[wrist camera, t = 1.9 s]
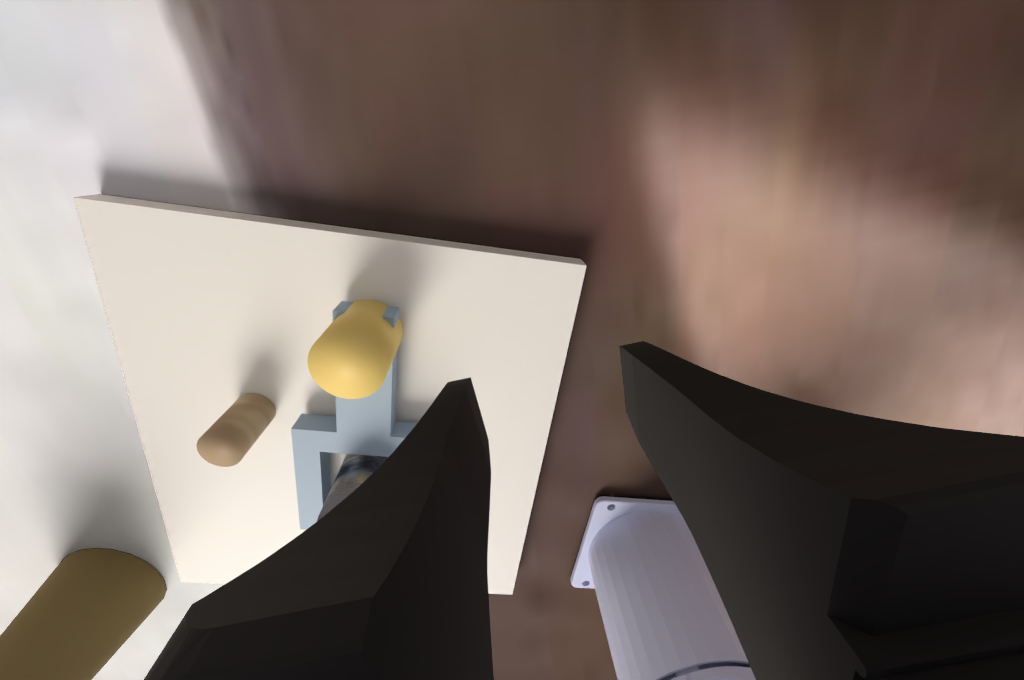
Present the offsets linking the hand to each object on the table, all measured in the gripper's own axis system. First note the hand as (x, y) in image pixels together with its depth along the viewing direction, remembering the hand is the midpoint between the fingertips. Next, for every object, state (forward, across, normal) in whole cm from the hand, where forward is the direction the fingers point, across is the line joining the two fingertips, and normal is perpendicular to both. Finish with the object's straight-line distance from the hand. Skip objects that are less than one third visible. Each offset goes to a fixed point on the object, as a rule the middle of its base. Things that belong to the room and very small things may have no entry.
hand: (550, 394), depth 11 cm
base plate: (+9, +10, +6) cm, 15 cm away
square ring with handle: (+8, +9, +5) cm, 13 cm away
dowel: (+9, +14, +3) cm, 17 cm away
